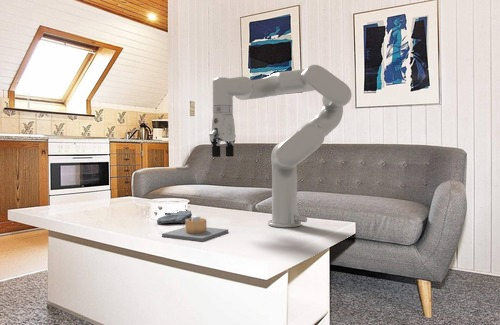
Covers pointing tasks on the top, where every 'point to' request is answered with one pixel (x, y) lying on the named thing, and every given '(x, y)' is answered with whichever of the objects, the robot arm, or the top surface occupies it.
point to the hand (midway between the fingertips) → (223, 156)
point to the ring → (195, 226)
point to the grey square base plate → (196, 237)
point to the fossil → (175, 217)
